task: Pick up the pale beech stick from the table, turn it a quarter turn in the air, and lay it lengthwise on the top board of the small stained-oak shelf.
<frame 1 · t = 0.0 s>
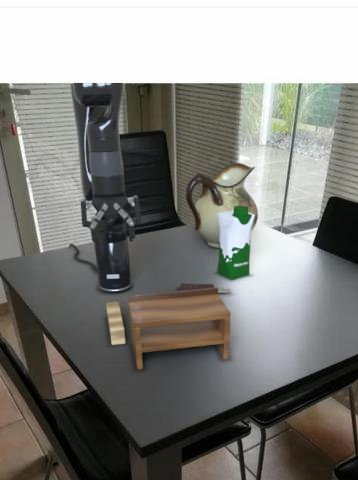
hand: (113, 242, 119), 17 cm above the table, tool pointing down, fingers open, 8 cm apart
milk carton: (233, 274, 147), on the table
shelf: (178, 351, 108), on the table
pitcher: (223, 244, 171), on the table
ice cream bar: (203, 293, 135), on the table
beech stick: (116, 329, 117), on the table
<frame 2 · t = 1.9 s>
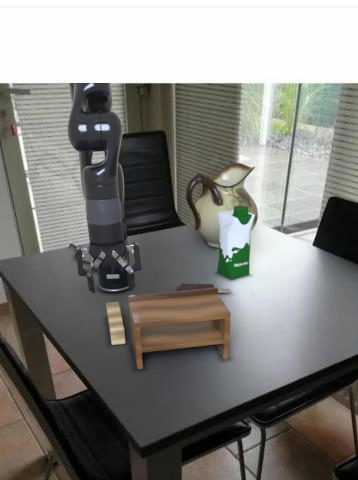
hand: (112, 290, 111), 10 cm above the table, tool pointing down, fingers open, 8 cm apart
nothing on the table moved.
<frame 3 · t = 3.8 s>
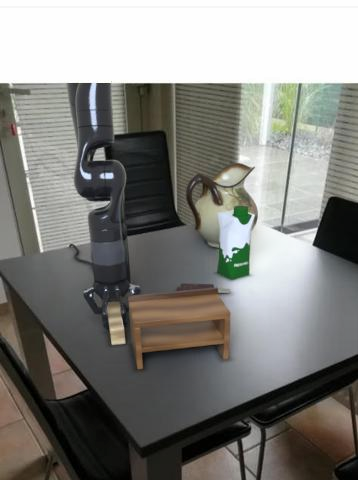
hand: (115, 327, 117), 1 cm above the table, tool pointing down, fingers closed on beech stick, 3 cm apart
beech stick: (116, 329, 117), on the table, touching gripper
everything else where it was.
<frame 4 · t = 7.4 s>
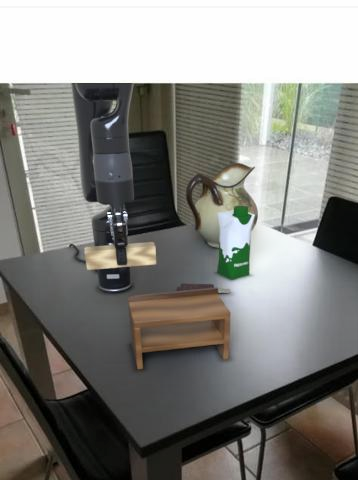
hand: (121, 261, 105), 18 cm above the table, tool pointing down, fingers closed on beech stick, 3 cm apart
beech stick: (121, 264, 105), point 17 cm above the table, touching gripper
everything else where it was.
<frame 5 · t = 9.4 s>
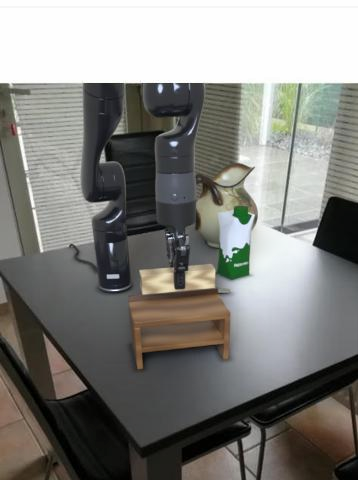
hand: (177, 284, 98), 16 cm above the table, tool pointing down, fingers closed on beech stick, 3 cm apart
beech stick: (177, 288, 99), point 15 cm above the table, touching gripper
everything else where it was.
when the fingers open (12 cm above the table, at t = 10.8 s): beech stick stays where it is, resting on shelf.
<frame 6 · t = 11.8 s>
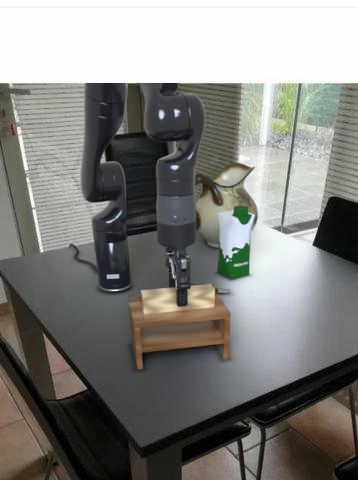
hand: (178, 297, 100), 13 cm above the table, tool pointing down, fingers open, 8 cm apart
beech stick: (178, 307, 101), point 11 cm above the table, touching shelf
everything else where it was.
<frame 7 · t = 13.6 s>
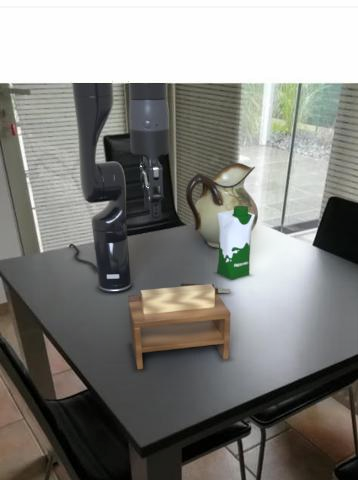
hand: (152, 214, 100), 28 cm above the table, tool pointing down, fingers open, 8 cm apart
nothing on the table moved.
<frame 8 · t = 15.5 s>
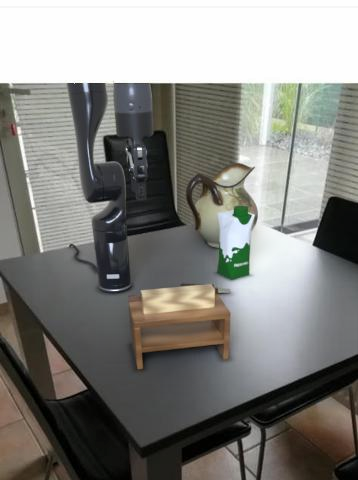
hand: (138, 195, 104), 30 cm above the table, tool pointing down, fingers open, 8 cm apart
nothing on the table moved.
at the end: beech stick inside the target area on the shelf (0.5 cm from its centre), point 11.0 cm above the shelf's base; beech stick touching shelf; the gripper is holding nothing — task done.
